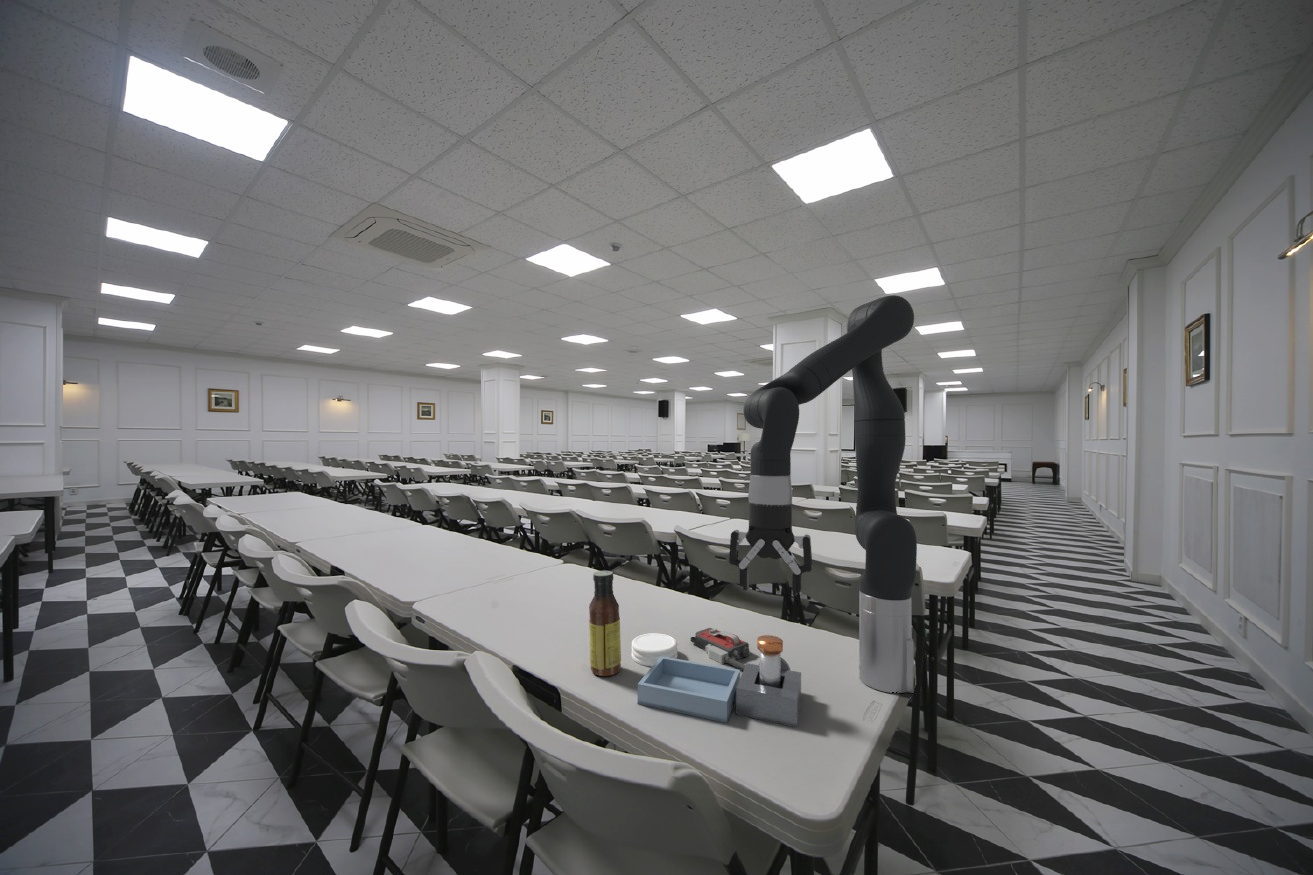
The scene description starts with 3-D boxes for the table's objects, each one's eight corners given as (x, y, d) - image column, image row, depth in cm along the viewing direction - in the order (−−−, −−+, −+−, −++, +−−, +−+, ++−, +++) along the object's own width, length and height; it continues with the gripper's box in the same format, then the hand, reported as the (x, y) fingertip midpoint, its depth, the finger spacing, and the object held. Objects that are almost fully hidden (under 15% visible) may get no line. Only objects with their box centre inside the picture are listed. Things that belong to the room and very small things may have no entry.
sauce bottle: (621, 663, 100) (622, 568, 100) (620, 678, 93) (621, 576, 94) (590, 663, 99) (591, 568, 100) (586, 678, 93) (588, 576, 93)
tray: (740, 688, 90) (740, 669, 90) (726, 722, 78) (726, 701, 78) (660, 673, 95) (660, 656, 95) (637, 703, 84) (637, 683, 84)
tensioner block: (801, 691, 89) (801, 658, 89) (797, 727, 77) (797, 690, 78) (748, 681, 92) (748, 650, 92) (736, 714, 81) (736, 679, 81)
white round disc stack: (685, 654, 105) (685, 638, 105) (661, 672, 96) (662, 654, 96) (647, 644, 110) (647, 628, 110) (622, 660, 102) (622, 643, 102)
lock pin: (783, 701, 85) (784, 637, 85) (781, 714, 81) (781, 646, 81) (759, 697, 87) (759, 633, 87) (755, 709, 83) (755, 642, 83)
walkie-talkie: (683, 647, 109) (751, 681, 93) (683, 627, 109) (751, 658, 94) (710, 637, 115) (778, 668, 99) (710, 619, 115) (778, 646, 99)
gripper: (813, 500, 86) (812, 590, 85) (734, 496, 91) (734, 581, 90) (811, 504, 79) (810, 603, 78) (726, 500, 84) (725, 593, 83)
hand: (769, 591), depth 84 cm, fingers open, 8 cm apart
